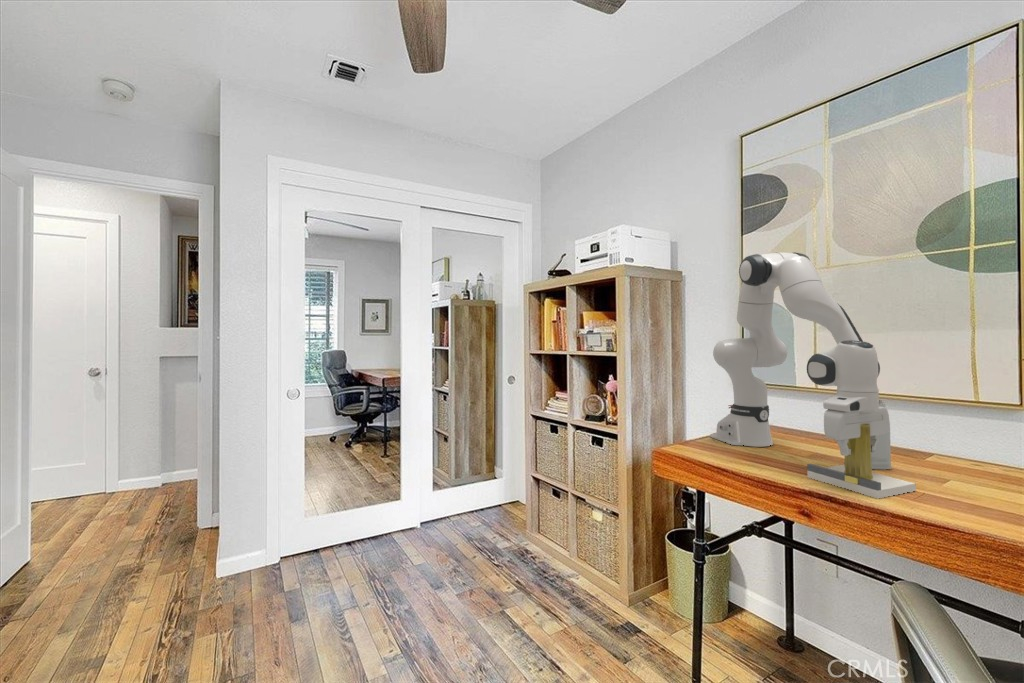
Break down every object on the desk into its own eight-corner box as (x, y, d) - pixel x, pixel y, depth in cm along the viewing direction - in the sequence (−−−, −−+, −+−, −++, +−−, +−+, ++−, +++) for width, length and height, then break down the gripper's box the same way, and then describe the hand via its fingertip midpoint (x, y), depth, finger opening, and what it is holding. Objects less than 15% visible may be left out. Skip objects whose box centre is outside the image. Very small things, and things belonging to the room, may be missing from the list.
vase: (870, 474, 120) (869, 421, 120) (875, 481, 115) (874, 426, 115) (842, 471, 123) (841, 420, 123) (845, 478, 118) (844, 424, 118)
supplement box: (892, 470, 131) (891, 426, 130) (863, 469, 132) (862, 426, 132) (876, 463, 138) (876, 422, 138) (849, 462, 139) (849, 421, 139)
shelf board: (806, 477, 125) (806, 464, 125) (842, 471, 130) (842, 458, 130) (876, 499, 108) (876, 483, 108) (915, 491, 113) (915, 476, 113)
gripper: (871, 397, 125) (872, 446, 125) (818, 402, 119) (819, 454, 119) (897, 400, 119) (897, 452, 119) (842, 405, 113) (843, 460, 113)
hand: (858, 453), depth 119 cm, fingers open, 8 cm apart
